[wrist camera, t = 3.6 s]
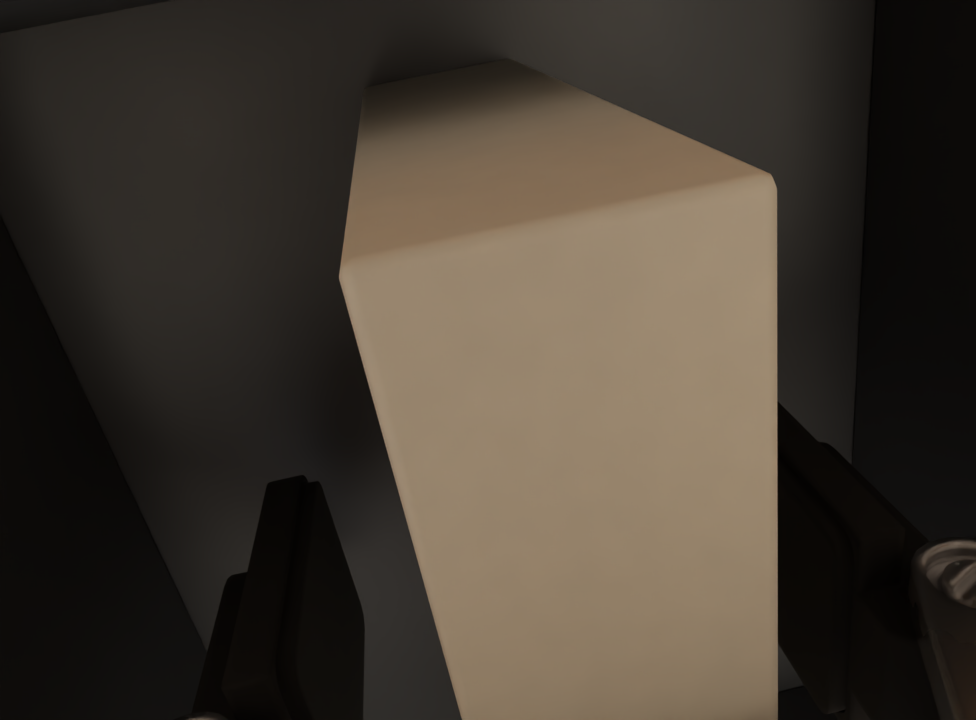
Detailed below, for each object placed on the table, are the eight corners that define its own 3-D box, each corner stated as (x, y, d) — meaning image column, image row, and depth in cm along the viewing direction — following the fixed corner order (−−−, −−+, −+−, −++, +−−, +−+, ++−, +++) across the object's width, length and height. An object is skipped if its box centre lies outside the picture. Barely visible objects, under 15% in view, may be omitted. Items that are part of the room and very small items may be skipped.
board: (361, 87, 11) (331, 265, 4) (513, 56, 11) (783, 172, 4) (508, 708, 16) (610, 1254, 9) (605, 685, 17) (781, 1207, 9)
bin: (-126, 6, 10) (-618, 15, 5) (903, -189, 11) (1363, -351, 6) (267, 811, 18) (224, 1127, 13) (851, 671, 18) (1027, 920, 13)
